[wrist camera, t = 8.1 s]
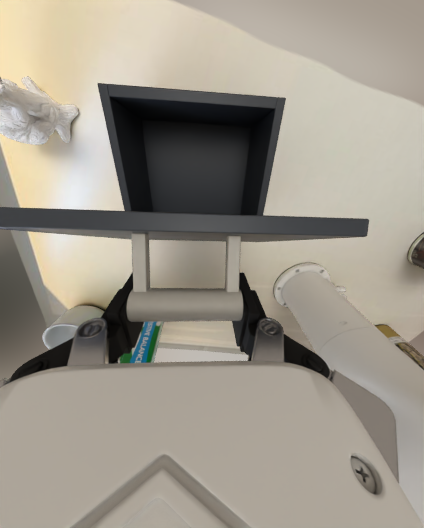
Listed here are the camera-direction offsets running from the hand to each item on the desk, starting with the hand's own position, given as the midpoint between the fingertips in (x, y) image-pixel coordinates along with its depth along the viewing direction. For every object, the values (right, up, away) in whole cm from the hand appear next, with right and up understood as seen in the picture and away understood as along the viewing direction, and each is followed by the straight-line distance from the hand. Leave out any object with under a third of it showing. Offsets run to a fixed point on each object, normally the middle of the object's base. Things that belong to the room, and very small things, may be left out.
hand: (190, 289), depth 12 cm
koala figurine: (-19, +22, +11) cm, 31 cm away
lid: (0, +5, +2) cm, 5 cm away
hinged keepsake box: (-1, +16, +14) cm, 22 cm away
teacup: (-26, -11, +29) cm, 41 cm away
